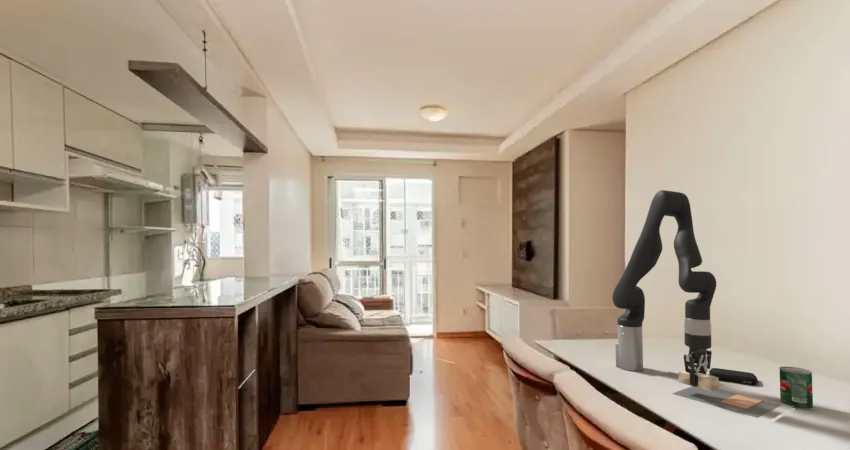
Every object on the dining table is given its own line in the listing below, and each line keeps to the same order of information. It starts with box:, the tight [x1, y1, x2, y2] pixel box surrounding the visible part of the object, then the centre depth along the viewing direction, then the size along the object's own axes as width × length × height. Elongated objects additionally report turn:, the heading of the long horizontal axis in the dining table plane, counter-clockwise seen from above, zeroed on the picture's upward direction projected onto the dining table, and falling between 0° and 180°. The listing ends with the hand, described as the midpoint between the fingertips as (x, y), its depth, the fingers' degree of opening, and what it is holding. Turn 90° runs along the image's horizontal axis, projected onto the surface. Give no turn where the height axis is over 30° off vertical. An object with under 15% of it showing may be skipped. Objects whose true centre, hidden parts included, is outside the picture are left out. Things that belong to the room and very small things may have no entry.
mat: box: [671, 386, 782, 419], centre depth 140 cm, size 24×18×1 cm
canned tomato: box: [778, 366, 814, 411], centre depth 136 cm, size 8×8×11 cm
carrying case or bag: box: [708, 367, 759, 386], centre depth 162 cm, size 11×3×15 cm
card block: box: [677, 369, 720, 391], centre depth 143 cm, size 10×5×4 cm, turn 33°
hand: (698, 384), depth 142 cm, fingers closed on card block, 5 cm apart
